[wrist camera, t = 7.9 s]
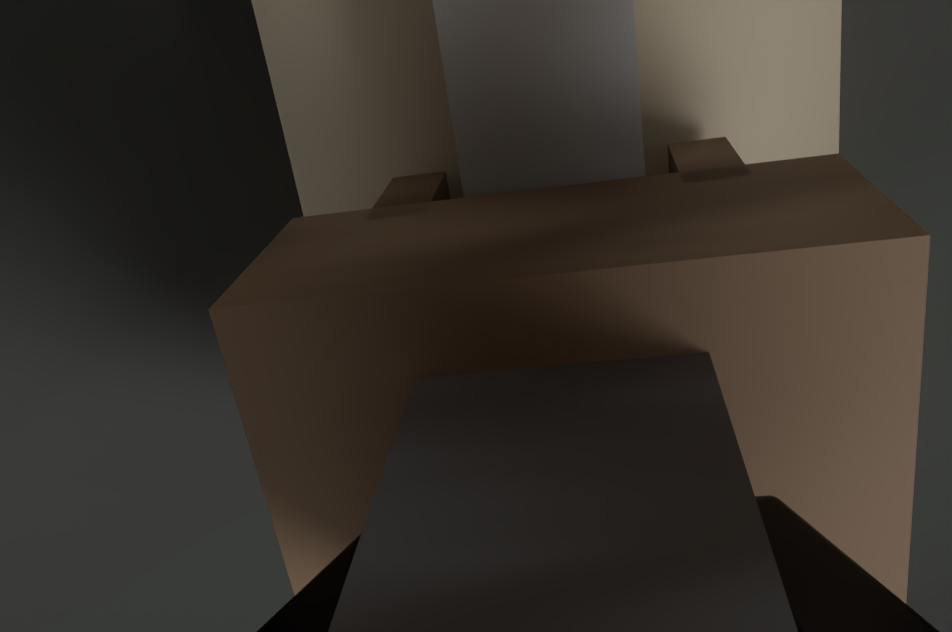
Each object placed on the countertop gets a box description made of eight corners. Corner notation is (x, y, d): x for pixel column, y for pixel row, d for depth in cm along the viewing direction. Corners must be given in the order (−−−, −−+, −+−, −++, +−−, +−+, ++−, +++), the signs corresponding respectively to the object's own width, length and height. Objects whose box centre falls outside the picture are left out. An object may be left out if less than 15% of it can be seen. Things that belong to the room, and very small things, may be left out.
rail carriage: (808, 126, 12) (1739, 949, 2) (805, 434, 14) (1309, 1543, 4) (321, 186, 13) (-360, 920, 3) (385, 464, 15) (65, 1409, 5)
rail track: (817, -686, 10) (910, -914, 7) (808, 634, 18) (851, 763, 15) (167, -517, 11) (37, -657, 8) (432, 649, 19) (409, 769, 16)
